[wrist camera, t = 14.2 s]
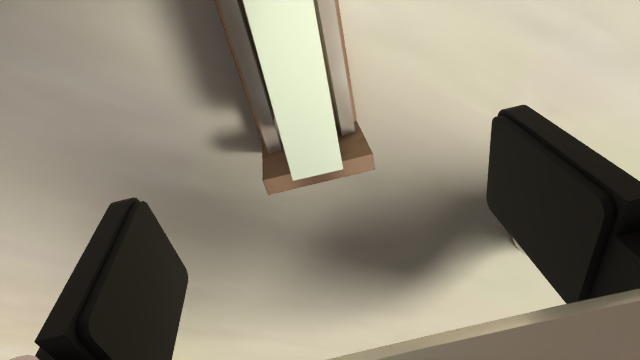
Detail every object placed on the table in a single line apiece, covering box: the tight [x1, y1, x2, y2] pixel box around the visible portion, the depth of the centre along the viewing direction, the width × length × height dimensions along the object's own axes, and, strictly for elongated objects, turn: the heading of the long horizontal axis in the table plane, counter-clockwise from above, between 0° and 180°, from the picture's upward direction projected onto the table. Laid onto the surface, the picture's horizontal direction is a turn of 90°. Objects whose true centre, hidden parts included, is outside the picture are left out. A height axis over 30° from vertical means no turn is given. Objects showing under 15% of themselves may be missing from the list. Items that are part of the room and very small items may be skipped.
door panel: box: [243, 0, 343, 181], centre depth 25 cm, size 4×16×10 cm, turn 10°
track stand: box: [215, 0, 375, 195], centre depth 27 cm, size 9×23×7 cm, turn 11°
